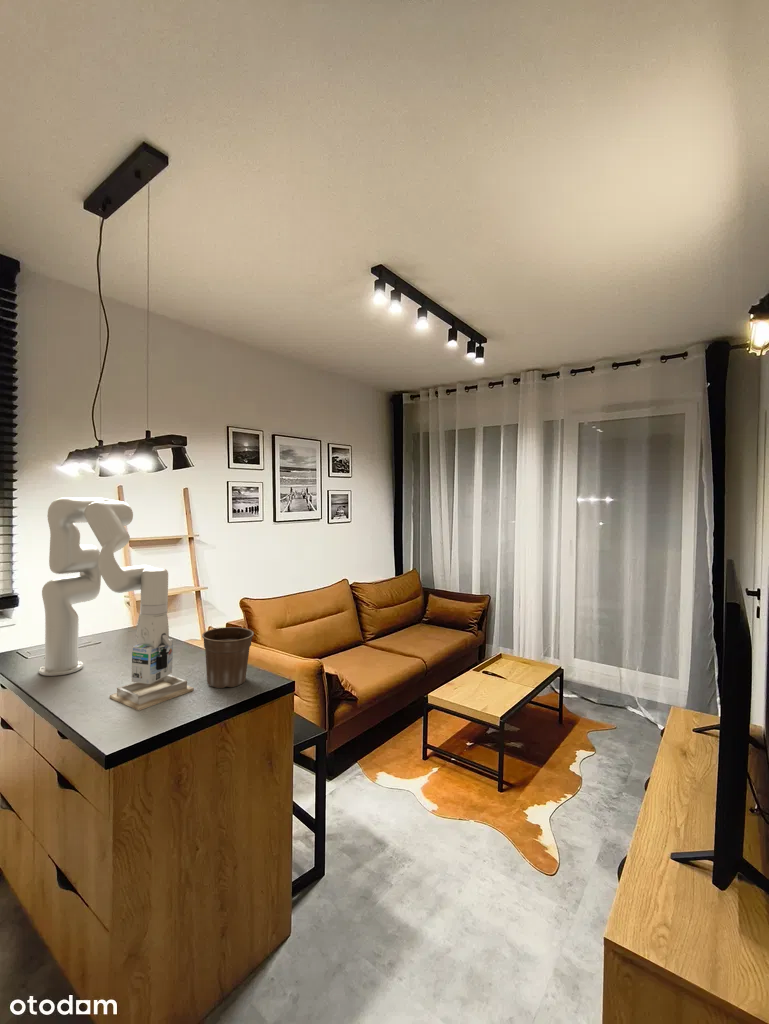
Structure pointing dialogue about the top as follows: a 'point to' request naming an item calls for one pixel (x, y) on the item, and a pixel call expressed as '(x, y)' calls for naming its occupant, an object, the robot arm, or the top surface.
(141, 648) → the light bulb box
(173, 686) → the collar
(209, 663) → the plant pot
